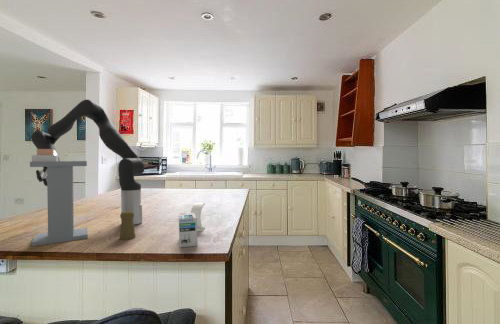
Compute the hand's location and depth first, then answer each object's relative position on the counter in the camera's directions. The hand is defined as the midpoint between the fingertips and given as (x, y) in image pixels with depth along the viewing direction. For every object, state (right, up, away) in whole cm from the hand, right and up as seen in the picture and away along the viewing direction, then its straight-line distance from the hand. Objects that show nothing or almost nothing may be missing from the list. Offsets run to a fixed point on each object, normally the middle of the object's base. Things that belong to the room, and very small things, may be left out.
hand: (57, 182), depth 127 cm
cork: (+45, -22, -21) cm, 54 cm away
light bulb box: (+72, -22, -27) cm, 79 cm away
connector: (+9, +10, -18) cm, 23 cm away
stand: (+17, -22, -20) cm, 34 cm away
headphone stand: (+72, -21, -9) cm, 75 cm away
